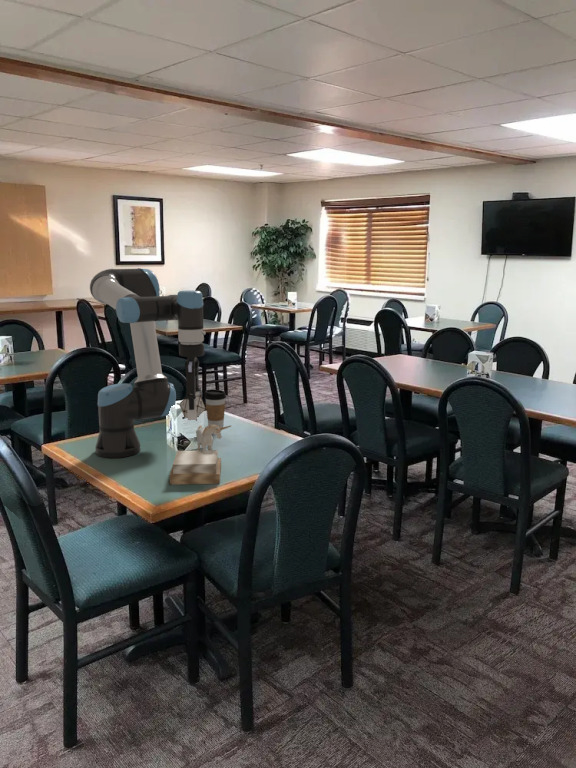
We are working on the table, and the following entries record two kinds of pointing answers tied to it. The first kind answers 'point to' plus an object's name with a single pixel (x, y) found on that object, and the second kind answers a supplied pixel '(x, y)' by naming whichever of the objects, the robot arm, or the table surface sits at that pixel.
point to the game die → (199, 405)
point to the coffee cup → (215, 407)
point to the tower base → (196, 477)
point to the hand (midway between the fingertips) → (193, 415)
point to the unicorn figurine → (208, 435)
